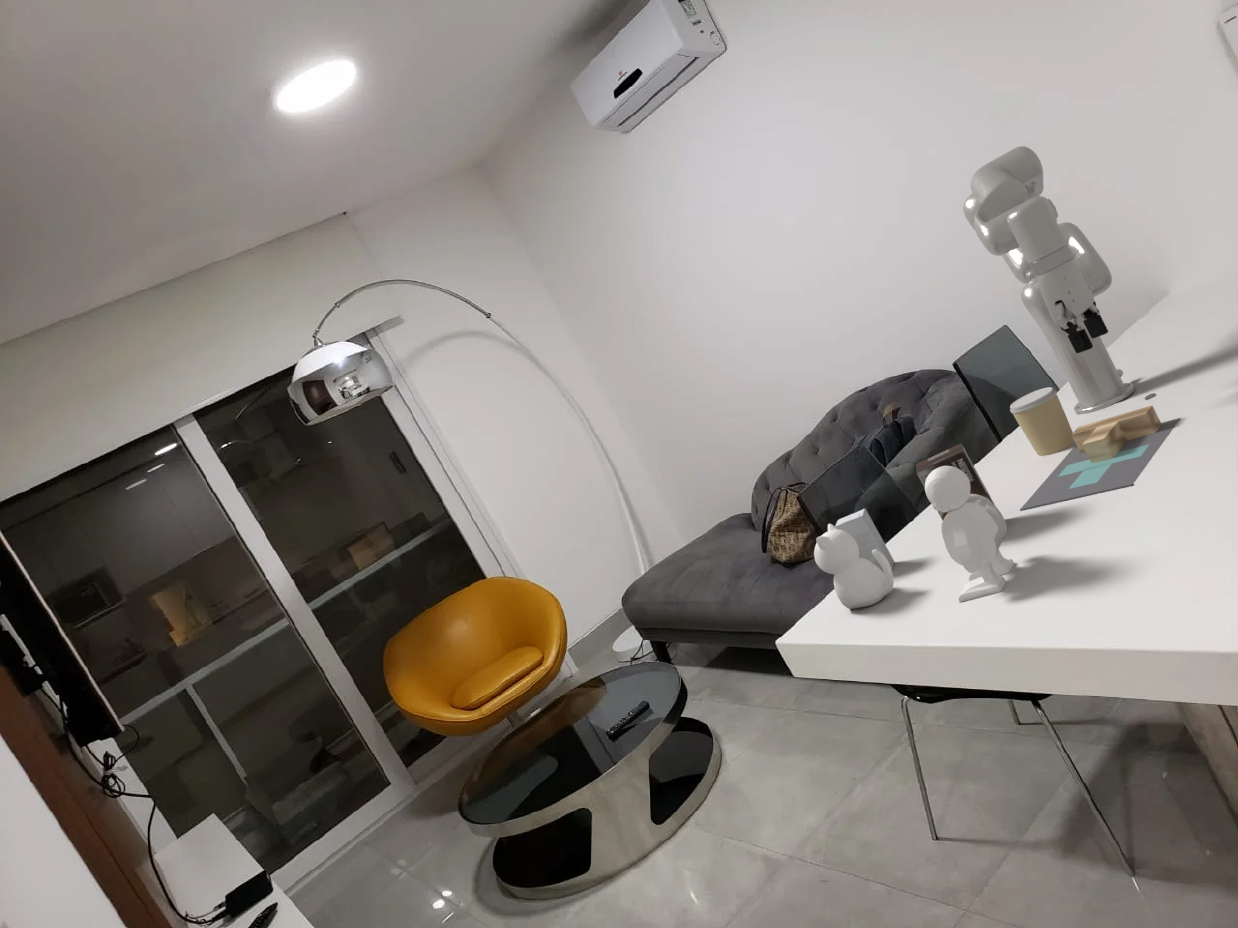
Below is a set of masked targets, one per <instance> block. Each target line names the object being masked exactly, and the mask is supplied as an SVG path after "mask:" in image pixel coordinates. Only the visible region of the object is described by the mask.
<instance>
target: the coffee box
mask: <svg viewBox="0 0 1238 928" xmlns="http://www.w3.org/2000/svg"><path fill="white" fill-rule="evenodd" d="M941 466H952V467H955V468H958V469H960V470H961V471H963V472H964V473H965V474H966V475H967V477H968V479H969V481H970V494H977V495H981V496H983V497H985V498H987V499H988V500H990V501H991V502H992V503H993V504H994V505H995V502H994V500H993V499H992V497H991V495H990V494H989V491H988V489H987V488H986V485H985V484H984V482H983V480H982V479H981V477H980V475H979V473H978V471H977V469H976V468H975V466H974V463H973V462H972V460H971V458H970V457H969V454H968V453H967V451H966V449H965V447H964V445H963V444H962V442H961V443H959V444H957V445H954V446H951V447H950V448H948V449H945V450H943V451H941V452H939V453H937V454H935V455H932V456H930V457H928V458H926V459H924V460H922V461H919V462H917V463H916V464H915V467H916V469H915V470H916V471H915V472H916V475H917V476H918V479H919V480H920V482H921V484H922V485H923V487H924V488H925V481H926V479H927V477H928V475H929V474H930V473H931V472H932V471H933V470H935V469H937V468H939V467H941ZM995 506H996V505H995ZM936 511H937V513H938V516H939V517H940V519H941V520H942V521H943V520H944V518H945V517H946V515H947V513H948V512H949V511H948V512H941V511H938V510H936Z"/></svg>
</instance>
